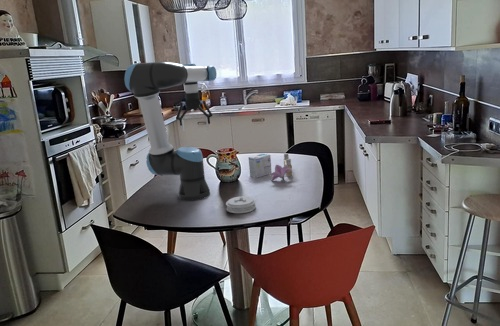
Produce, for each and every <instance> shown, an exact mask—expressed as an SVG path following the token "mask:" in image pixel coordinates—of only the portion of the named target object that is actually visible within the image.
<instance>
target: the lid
mask: <svg viewBox="0 0 500 326" xmlns="http://www.w3.org/2000/svg"><path fill="white" fill-rule="evenodd" d="M256 202H257V201H256V199H255V198H253V197H252V196H246V195H243V196H235V197H231V198H230V199H228V200H227V201H226V202H225V206H226V211H227V212H229V213H233V214H245V213H250V212H252V211H254V210H255V209H257V205H256Z"/></svg>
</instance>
